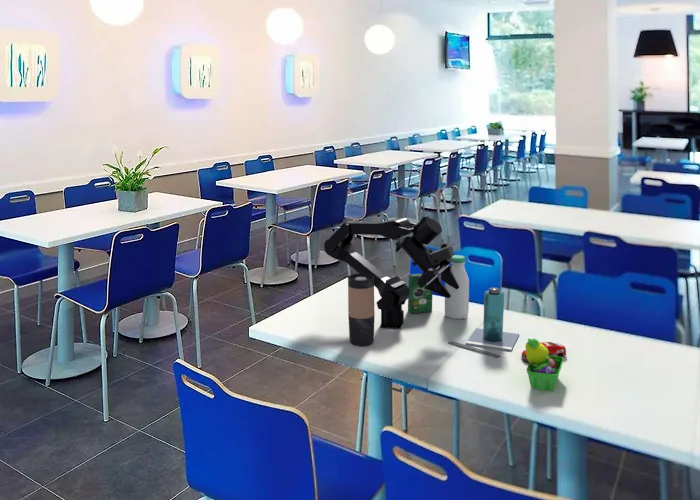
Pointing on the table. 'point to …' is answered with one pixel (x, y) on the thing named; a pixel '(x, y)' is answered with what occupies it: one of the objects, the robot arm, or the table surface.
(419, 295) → the coffee box
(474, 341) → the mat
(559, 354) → the race car
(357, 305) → the travel mug
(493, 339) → the bottle
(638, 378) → the table surface
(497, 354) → the line
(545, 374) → the fruit basket
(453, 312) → the milk bottle
